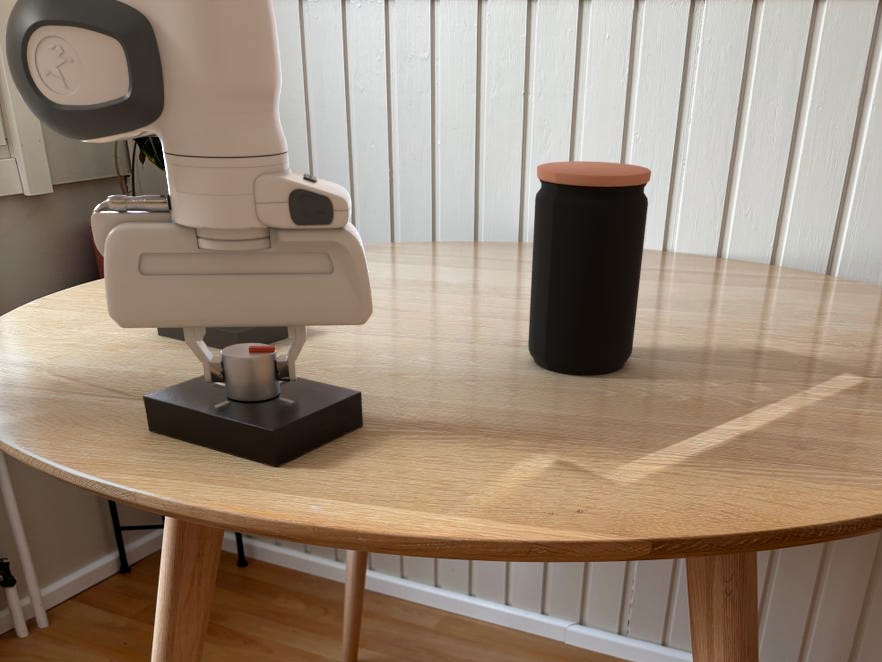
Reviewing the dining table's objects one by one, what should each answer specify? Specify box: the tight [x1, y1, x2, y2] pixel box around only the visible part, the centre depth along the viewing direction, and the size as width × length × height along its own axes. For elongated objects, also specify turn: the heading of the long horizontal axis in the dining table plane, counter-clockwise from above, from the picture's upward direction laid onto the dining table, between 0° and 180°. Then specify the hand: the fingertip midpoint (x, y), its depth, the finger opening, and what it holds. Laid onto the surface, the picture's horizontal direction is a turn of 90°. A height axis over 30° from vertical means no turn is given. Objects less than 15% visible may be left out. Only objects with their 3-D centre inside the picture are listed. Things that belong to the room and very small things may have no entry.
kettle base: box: [156, 326, 289, 351], centre depth 102 cm, size 12×10×4 cm
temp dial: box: [220, 343, 280, 401], centre depth 76 cm, size 4×4×4 cm
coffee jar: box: [527, 160, 652, 376], centre depth 92 cm, size 11×11×18 cm
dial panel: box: [142, 374, 364, 468], centre depth 78 cm, size 14×11×3 cm
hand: (252, 380), depth 77 cm, fingers closed on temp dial, 4 cm apart
